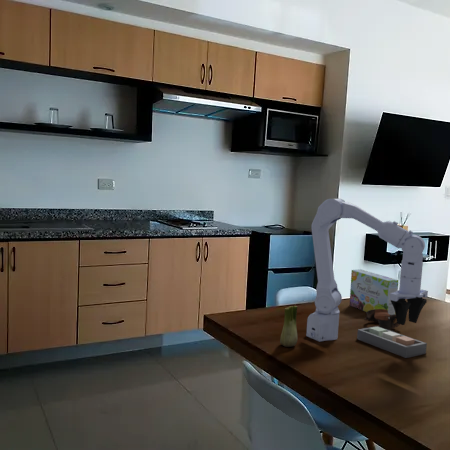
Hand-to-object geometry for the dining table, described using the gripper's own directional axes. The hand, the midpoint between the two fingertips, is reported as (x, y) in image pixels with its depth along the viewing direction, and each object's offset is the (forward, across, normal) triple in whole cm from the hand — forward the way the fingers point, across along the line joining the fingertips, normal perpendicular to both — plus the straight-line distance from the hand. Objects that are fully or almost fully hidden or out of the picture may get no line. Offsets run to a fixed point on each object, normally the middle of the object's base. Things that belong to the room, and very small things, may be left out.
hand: (406, 323), depth 143 cm
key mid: (+7, 0, +5) cm, 9 cm away
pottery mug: (+10, +14, +20) cm, 26 cm away
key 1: (+7, 0, +10) cm, 12 cm away
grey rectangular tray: (+9, 0, +5) cm, 11 cm away
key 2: (+7, 0, 0) cm, 7 cm away
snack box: (+10, +30, +38) cm, 49 cm away
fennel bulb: (+10, -27, +20) cm, 35 cm away
